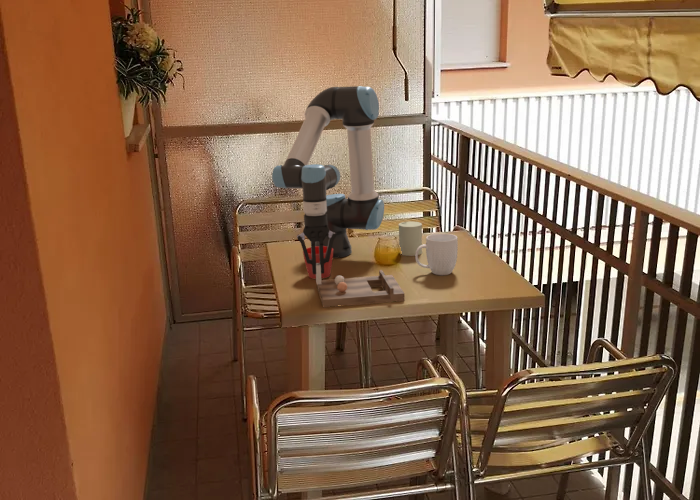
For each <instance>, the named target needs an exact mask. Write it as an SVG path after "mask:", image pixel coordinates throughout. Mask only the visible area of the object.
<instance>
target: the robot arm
mask: <svg viewBox="0 0 700 500" xmlns="http://www.w3.org/2000/svg"><path fill="white" fill-rule="evenodd" d="M379 104H380V103H379V97H378V95H377V93H376V92H375V90H374V88H372V87H370V86H361V85H359V86H357V85H355V86H332V87H331V86H330V87H327V88H326V89H323V90H322V91H320V92H319V93H318V94H317V95H315V97H314V98H313V99H312V100H311V101H310V102H309V104H307V107H306V109H305V112H304V118H305V119H304V120H303V123H302V124H301V127H300V129H299V131H298V133H297V136H296V138H295V140H294V142H293V144H292V146H291V149H290V151H289V153H288V155H287V157H286V158H285V159H286V160H285V161H284V163H283V165H282V164H280V165H275V166H274V167H273V170H272V172H271V173H272V174H271V180H272V182H273V185H274V187H276V188H278V189H280V188H282V189H302V206H303V213H304V215H303V220H304V221H303V222H304V223H303V225H304V228H303V230H302V232H301V233H300V234H296V239H297V240H298V241H299V243H300V245H301V248H302V253H303V252H304V255H305V258H306V261H307V263H308V264H312V272H313V274H316V279H315V282H316V285H317V284H321V280H322V279H321V274H324V264H325V263H326V262H329V260H330V255H331V250H332V248H333V259H338V258H344V257H347V256H349V255H351V254H352V253H353V252H352V245H351V242H350V239H349V237H348V234H347V229H350V230H363V231H371V230H372V231H374V230H377V229H379V228H380V226H381V224H382V222H383V218H384V213H385V203H384V200H383V199H380V198H379V193H378V192H377V191H376V190H375V186H374V185H375V184H374V168H373V151H372V150H373V149H372V147H373V146H372V133H371V131H372V129H371V128H372V127H373V125H374V124H375V120H377V118H379V114H380V105H379ZM332 120H341V121H342V126H343V127H344V128H345V130H347V145H348V159H349V161H348V162H349V163H348V164H349V173H350V176H349V177H350V190H351V192H350V193H349V194H348V195H347V198H346V194H345V193H334V194H327V190H330V189H332V188H335V187H336V186H337V184H339V182H340V180H341V173H340V170H339V168H337V167H336V166H335V165H334V164H326V165H324V164H316V163H313V164H309V163H310V161H311V159H312V157H313V154H314V152H315V149H316V147H317V145H318V143H319V140H320V138H321V136H322V133H323V131H324V129H325V127H327V126H328V125H329V124H330V122H331V121H332ZM305 237H306V238H307V239H308V241H309V242H310V247H311V256H312V259H310V258H309V255H308V252H307V249H306V248H307V246H306V243H305V242H306V241H305V240H306V239H305ZM316 246H319V259H320V263H316V251H315V247H316ZM323 246H326V247H327V251H326V256H325V258H324V253H323ZM304 255H303V256H304Z"/></svg>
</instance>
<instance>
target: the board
mask: <svg viewBox="0 0 700 500" xmlns="http://www.w3.org/2000/svg"><path fill="white" fill-rule="evenodd" d="M378 272H379V273H378V275H372V276H359V277H347V278H345V277H344V282H345V283H346V284H347V289H346V291H344V292H340V291H339V290H338V288H337V286H338V285H337V284H336V283H335V278H333V279H323V280H322V279H321V284H317V283H316V289H317V291H318V294H319V298H320V301H321V304H322V308H331V307H330V306H335V307H339V306H338V305H341V306H340V307H343V306H342V305H347V306H357V305H369V304H370V305H371V303H372V304H380V303H381V304H383V303H393V302H392V301H396V302H405V301H406V300H405V292H404V291H403V289H402V288H401V286H400V284H399V283H398V281H397V280H396V278H395V277H394V276H393V274H387V275H386V274H385V272H384V271H383V269H380V270H378ZM378 287H381V288H382V290H379V291H373V290H372V288H378Z"/></svg>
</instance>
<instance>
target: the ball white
mask: <svg viewBox="0 0 700 500" xmlns="http://www.w3.org/2000/svg"><path fill="white" fill-rule="evenodd" d="M344 278H345V277H344V276H342V275H336V276H335V278H334V279H335V283H336V284H337V285H338V284H339V283H340V282H344Z"/></svg>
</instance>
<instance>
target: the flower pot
mask: <svg viewBox="0 0 700 500" xmlns="http://www.w3.org/2000/svg"><path fill="white" fill-rule="evenodd" d="M306 249H307V252H308V255H309V258H310V259H312V256H311V246H310V247H306ZM315 251H316V263H320V259H319V246H316V247H315ZM326 251H327V247H326V246H323V253H324V258H325V256H326ZM302 254H303V259H304V263H305V268H306V270H307V274H308V277H309V279H313V280H316V274H313V272H312V264H308V263H307V261H306V258H305V255H304V252H303V251H302ZM333 259H334V258H333V248H332V250H331V255H330V260H329V262H326V263H325V264H324V274H321V280H322V279H323V280H324V279H327V278H329V277H331V272H332V266H333Z"/></svg>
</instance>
